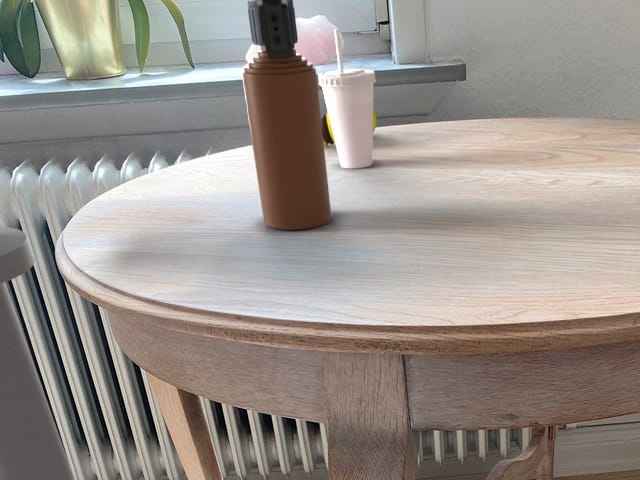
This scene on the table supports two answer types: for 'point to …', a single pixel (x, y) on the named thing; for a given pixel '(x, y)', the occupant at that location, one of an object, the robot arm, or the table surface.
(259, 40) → the cap
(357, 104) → the smoothie
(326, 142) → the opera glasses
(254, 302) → the table surface
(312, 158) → the bottle
